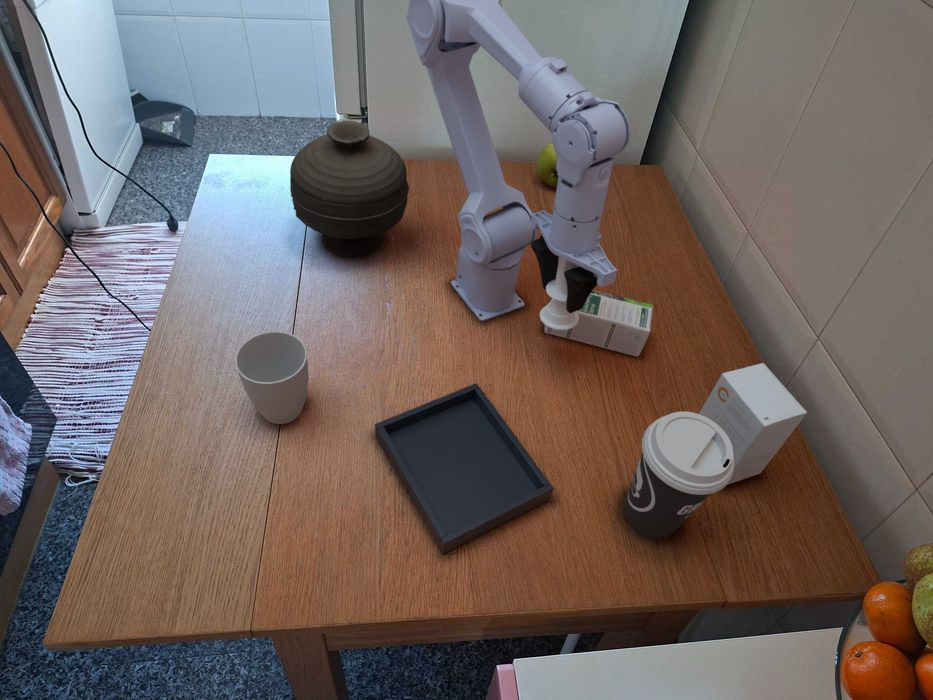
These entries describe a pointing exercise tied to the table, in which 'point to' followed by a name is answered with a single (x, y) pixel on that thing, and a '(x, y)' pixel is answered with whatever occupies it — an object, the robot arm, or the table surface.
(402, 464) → the tray
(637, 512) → the coffee cup
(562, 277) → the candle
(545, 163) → the apple
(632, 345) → the syrup box
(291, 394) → the cup
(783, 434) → the small box
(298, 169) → the pot
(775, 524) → the table surface
